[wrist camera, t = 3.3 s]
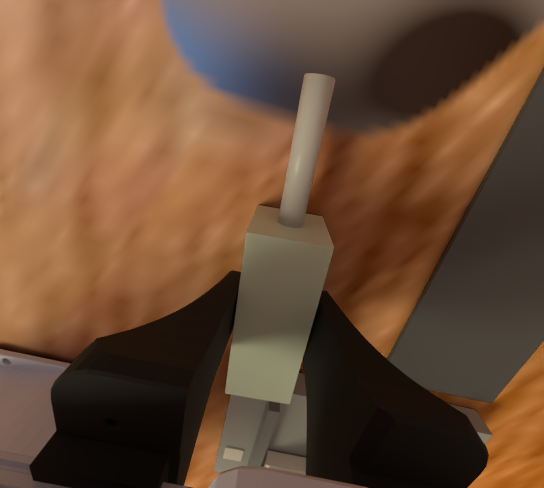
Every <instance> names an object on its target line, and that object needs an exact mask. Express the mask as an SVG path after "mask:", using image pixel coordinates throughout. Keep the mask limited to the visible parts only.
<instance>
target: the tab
mask: <svg viewBox="0 0 544 488" xmlns="http://www.w3.org/2000/svg"><path fill="white" fill-rule="evenodd" d="M261 467H267V468H272V469H277V470H282V471H287V472H292V473H297V474H303V475H306V458H305V457H300V456H295V455H290V454H285V453H280V452H275V451H270V450H267V452H266V455H265V458H264V460H263V463H262V466H261Z"/></svg>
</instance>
